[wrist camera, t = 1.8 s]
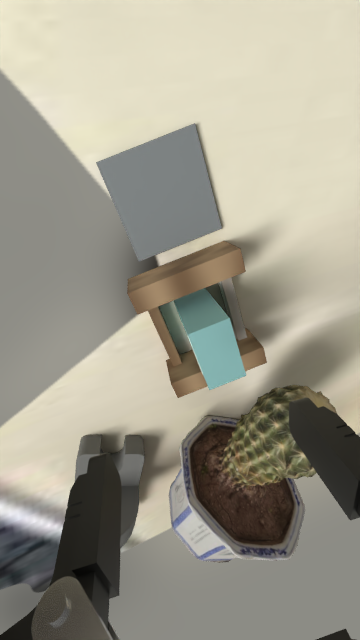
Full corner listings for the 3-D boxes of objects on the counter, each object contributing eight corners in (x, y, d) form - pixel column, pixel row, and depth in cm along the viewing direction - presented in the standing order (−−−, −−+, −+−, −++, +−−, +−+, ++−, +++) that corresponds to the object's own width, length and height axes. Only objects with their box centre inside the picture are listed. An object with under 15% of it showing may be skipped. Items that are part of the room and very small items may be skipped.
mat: (193, 124, 24) (194, 123, 24) (220, 228, 29) (221, 228, 29) (96, 163, 24) (96, 162, 24) (138, 260, 29) (138, 261, 29)
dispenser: (224, 240, 30) (240, 248, 25) (250, 342, 37) (266, 362, 32) (127, 279, 30) (127, 293, 25) (172, 373, 37) (177, 398, 32)
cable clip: (144, 434, 41) (148, 506, 31) (129, 503, 48) (129, 579, 38) (81, 433, 39) (65, 510, 29) (75, 506, 46) (60, 588, 36)
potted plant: (271, 580, 38) (466, 514, 21) (153, 581, 34) (273, 501, 16) (242, 456, 52) (344, 355, 34) (156, 447, 47) (223, 327, 30)
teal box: (202, 284, 32) (230, 317, 23) (217, 330, 35) (246, 375, 26) (171, 296, 32) (187, 335, 23) (189, 341, 35) (209, 390, 26)
